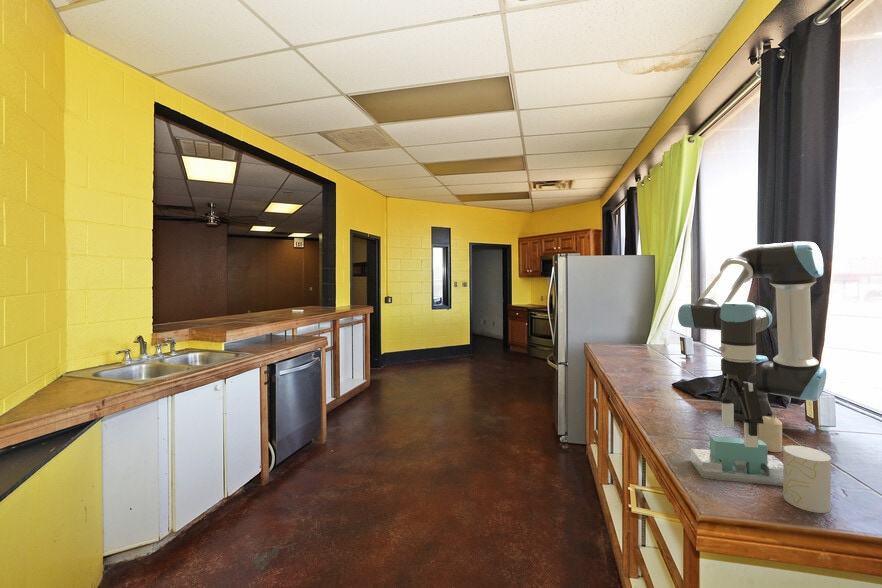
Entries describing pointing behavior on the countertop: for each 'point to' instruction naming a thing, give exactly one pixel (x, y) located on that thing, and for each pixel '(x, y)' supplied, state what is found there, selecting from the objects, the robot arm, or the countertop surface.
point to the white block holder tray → (737, 469)
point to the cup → (807, 478)
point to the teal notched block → (738, 453)
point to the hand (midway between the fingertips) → (738, 435)
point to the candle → (771, 433)
